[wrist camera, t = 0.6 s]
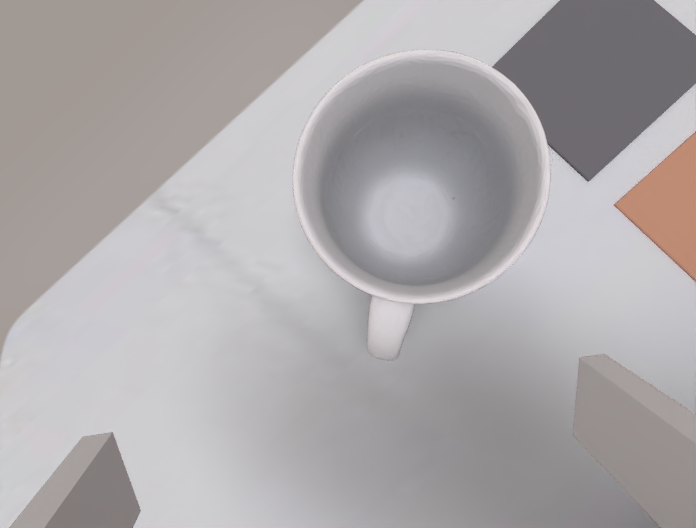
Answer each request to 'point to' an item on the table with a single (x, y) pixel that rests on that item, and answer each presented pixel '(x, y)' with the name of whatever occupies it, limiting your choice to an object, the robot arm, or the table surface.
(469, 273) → the mug
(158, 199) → the table surface
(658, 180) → the terracotta tile
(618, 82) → the charcoal mat
